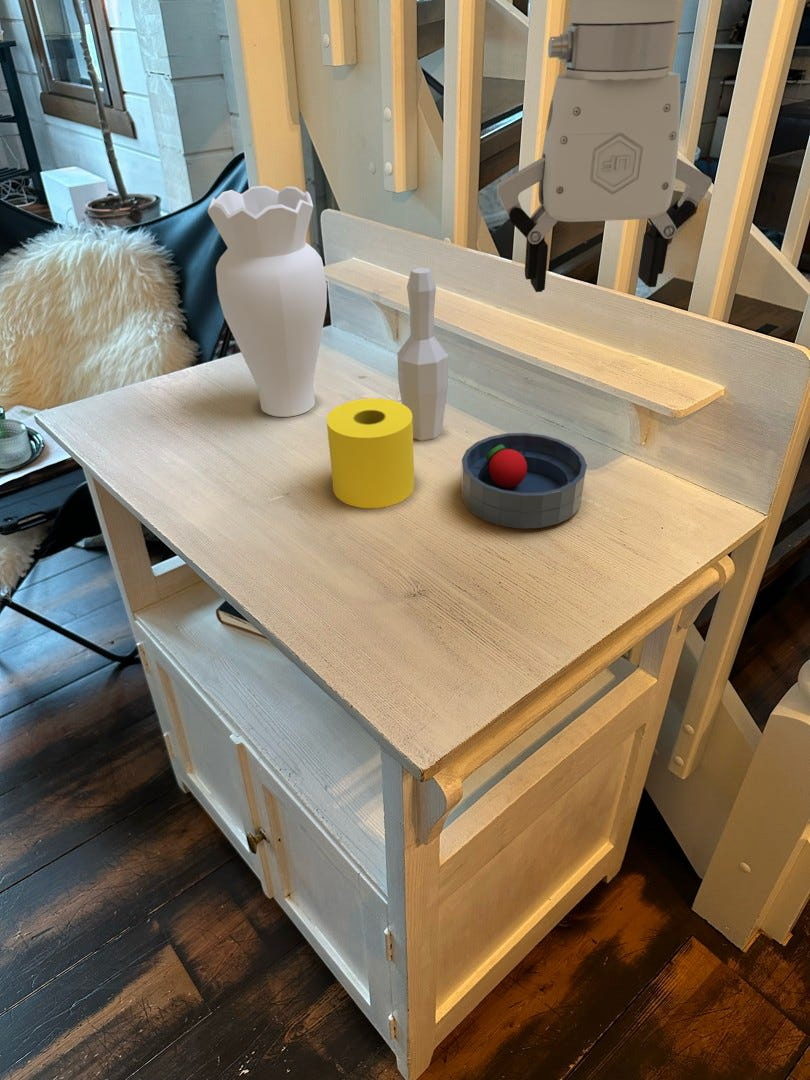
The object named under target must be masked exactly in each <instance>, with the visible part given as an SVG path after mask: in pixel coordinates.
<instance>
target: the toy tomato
mask: <svg viewBox="0 0 810 1080" xmlns="http://www.w3.org/2000/svg"><path fill="white" fill-rule="evenodd" d="M486 459H487V461H488V462H489V468H488V469H489V475H490V477H491V479H492V480H493V481H494V482H495V483H496V484H497V485H499V486H501V487H505V488H510V487H514V486H516V485H518V484H520V483H521V482H522V481H523V479H524V478H525V476H526V473H527V463H526V460H525V458H524V457H523V456H522V455H521V454H520V453H519V452H517V451H515V450H512V449H506V448H505V447H504V446H503V445H498V446H496V447H495V448H493V449H492V450H491V451H490V452H489V453H488V454H487V456H486Z"/></svg>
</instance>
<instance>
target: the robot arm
mask: <svg viewBox="0 0 810 1080" xmlns="http://www.w3.org/2000/svg"><path fill="white" fill-rule="evenodd" d="M679 6H680V0H571V7H570V20H569V21H570V22H569V24H567V27H566V30H565V31H564V33H560V35H559V36H550V37H549V40H548V45H547V46H548V47H547V48H548V49H547V54H548V55H547V56H548V58H549V59H558V60H559V61H560V60H562V62H563V63H564V64H563V66H564V67H566V68H565V73H563V74H558V75H557V77H556V80H555V84H554V88H553V91H552V96H551V100H550V105H549V110H548V115H547V121H546V126H545V133H544V139H543V146H542V152H541V158H538V159H537V160H535V161H534V162H532V163H530V164H529V165H527V166H526V167H523V168H522V169H520V170H518V171H517V172H515V173H513V174H512V175H510V176H508V177H506V178H505V179H503V180H502V181H500V182H499V183H498V184H496V189H495V191H496V192H497V195H498V197H499V200H500V202H501V204H502V206H503V208H504V210H505V213H506V215H507V217H508V219H509V221H510V222H511V223H512V225H514V227H515V228H517V230H518V231H519V232H520V233H521V234H522V236H524V238H526V243H525V260H524V278H525V280H527V281H528V280H530V284H531V287H533V290H534V291H535V293H542V292H543V291H545V289H546V278H547V267H548V266H547V265H548V253H549V245H548V243H547V242H546V241H545V238H546V236H547V235H548V233H549V232H550V231H551V230H552V229H553V228H554V226H555V225H556V224H557V223H558V222H564V223H565V222H566V223H577V222H578V223H581V222H583V223H584V222H607V221H608V222H609V221H629V220H645V219H646V220H647V222H648V223H649V224H650V225H649V226H650V227H649V229H646V232H644V233H643V238H642V245H641V251H640V259H639V265H638V266H639V267H638V273H637V277H638V278H639V279H640V280H641V282H642V283H643V284H644V285H645V286H646V287H648V288H656V287H657V284H658V279H659V275H662V274H663V273H664V271H665V270H664V269H665V265H666V259H667V254H668V247H669V241H670V240H671V239H672V238H674V237H675V235H676V233H677V230H678V229H679V228H680V227H682V226H683V225H684V223H686V222H687V221H688V220H689V219H690V218H691V217H692V216H693V215H694V214H695V212H696V209H697V206H698V205H699V204H700V203H701V202H702V200H703V198H704V197H705V196H706V194H707V192H708V191H709V189H710V188H711V186H712V184H713V183H712V182H713V181H712V178H711V177H710V176H709V175H706V174H705V173H703V172H702V171H699V170H698V169H696V168H695V167H693V166H691V165H689V163H687V162H685V161H683V160H681V159H680V158H678V152H679V142H680V141H679V140H680V123H681V74H680V73H677V72H673V71H670V66H671V60H672V59H671V58H672V53H673V52H672V51H673V45H674V38H675V33H676V25H677V22H676V21H677V19H678V12H679ZM676 179H677V180H678V181H680V182H683V183H684V185H685V187H684V191H683V192H682V194H681V196H680V198H678V199H676V200H675V202H674V203H673V204H671V203H672V200H673V196H674V189H675V183H676ZM537 183H538V203H539V206H538V207H537V208H536V210H534V212H533V213H532V214H531V215H530V216H529V215H528V214H527V213H526V212H525V210H523V208H522V206H521V203H520V201H519V196H520V194H521V193H522V192H523V191H525V190H527V189H529V188H531V187H532V186H534V185H536V184H537Z"/></svg>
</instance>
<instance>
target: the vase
mask: <svg viewBox="0 0 810 1080" xmlns="http://www.w3.org/2000/svg"><path fill="white" fill-rule="evenodd" d="M313 210H314V204H313V200H312V196H311V194H310V192H308V190H307V191H305V192H304V191H302V190H301V189H300V188H299V187H298V186H291V185H285V187H284V188H282V189H280V190H276V189H274V188H272V187H269V186H268V185H256V186H252V187H249V188H248V189H246V190H245V191H244V192H242V193H240V192H237V191H235V190H233V189H229V190H226V191H222V192H221V193H220V194H219V195H218V196H217V197H216V198H215V197H212V198H211V200H210V202H209V205H208V207H207V211H206V212H207V214H208V216H209V217H210V219H211V221H212V223H213V224H214V226H215V228H216V229H217V231H218V233H219V235H220V238H222V240H223V242H224V244H225V246H226V247H227V249H226V250H225V251H224V252H223V254H222V255H221V256H220V257H219V259H218V261H217V264H216V266H215V276H216V289H217V290H216V291H217V296H218V301H219V304H220V307H221V311H222V314H223V317H224V319H225V321H226V324H227V326H228V328H229V330H230V332H231V334H232V336H233V338H234V340H235V343H236V344H237V347H238V349H239V351H240V353H241V354H242V358H243V359H244V361H245V364H246V365H247V368H248V370H249V372H250V375H251V376H252V379H253V380H254V382H255V385H256V388H257V391H258V396H259V398H258V399H259V404H260V409H261V410H262V412H264V413H265V414H267V415H268V416H272V417H276V418H277V417H278V418H289V417H295V416H296V417H297V416H300V415H302V414H305V413H308V412H309V411H310V410H311V409H313V407H314V406H315V404H316V399H315V390H314V380H315V379H314V378H315V372H316V367H317V361H318V356H319V350H320V346H321V340H322V334H323V329H324V323H325V317H326V313H327V306H328V305H327V304H328V284H327V278H326V273H325V266H324V263H323V258H322V257H321V255H320V254H319V253H318V252H317V250H316V249H315V248H314V247H312V246H311V245H310V244H309V243H307V232H308V229H309V225H310V221H311V218H312V214H313Z"/></svg>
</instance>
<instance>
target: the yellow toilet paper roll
mask: <svg viewBox="0 0 810 1080" xmlns="http://www.w3.org/2000/svg"><path fill="white" fill-rule="evenodd" d="M326 426H327V427H326V428H327V438H328V447H329V449H328V450H329V458H330V459H329V460H330V468H331V477H332V487H333V488H332V489H333V493H334V495H335V496H336V498H337V499H338V500H339V501H341V502H342V503H344V504H346V505H349V506H351V507H354V508H360V509H381V508H387V507H391V506H394V505H397V504H400V503H401V502H403V501H404V500H406V499H407V498H408V497H410V495H412V493H413V491H414V490H415V463H414V462H415V461H414V459H415V458H414V438H413V420H412V412H411V410H410V409H409V408H408V407H407V406H405V405H403V404H402V402H399V401H396V400H393V399H387V398H378V397H373V398H372V397H369V398H360V399H359V398H358V399H355V400H350V401H347V402H344V403H341V404H339V405H338V406H335V407H334V408H332V409H331V410H330V411H329V412H328V414H327V416H326Z"/></svg>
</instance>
